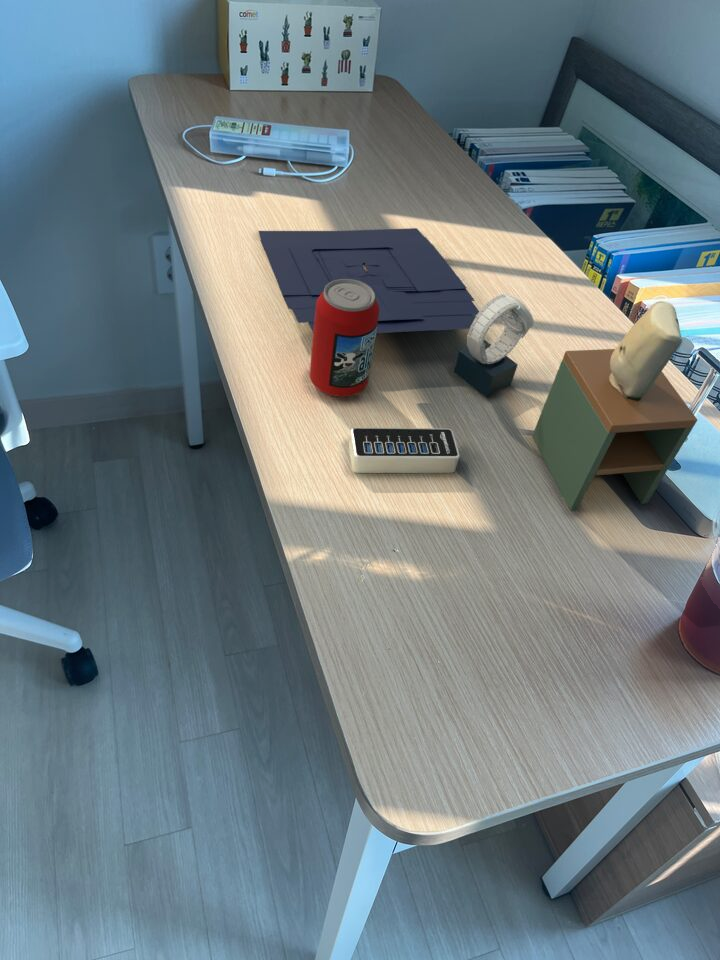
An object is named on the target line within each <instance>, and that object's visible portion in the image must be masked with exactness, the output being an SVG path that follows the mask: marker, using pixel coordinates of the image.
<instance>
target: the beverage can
mask: <svg viewBox="0 0 720 960" xmlns="http://www.w3.org/2000/svg"><path fill="white" fill-rule="evenodd" d="M378 318H379V306H378V303H377V301H376V299H375V293H374V291H373V290H372V288H371V287H369V286H368V285H367V284H365V283H363V282H360V281H357V280H352V279H339V280H334V281H332V282H330V283H328V284H327V285H326V287H325V289H324V291H323V292H322V294H321V295H320V296H319V297H318V299H317V302H316V310H315V320H314V330H313V332H312V341H311V353H310V354H311V355H310V367H309V378H310V382H311V383H312V384H313V386H314V387H315V388H316V389H318V390H319V391H321V392H322V393H324V394H326V395H330V396H334V397H350V396H354V395H357V394H359V393H361V392H362V391H364V390H365V388H366V387H367V385H368V383H369V376H370V372H371V365H372V359H373V355H374V348H375V343H376V336H377V333H376V331H377V324H378Z"/></svg>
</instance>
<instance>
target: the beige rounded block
mask: <svg viewBox="0 0 720 960" xmlns="http://www.w3.org/2000/svg"><path fill="white" fill-rule="evenodd" d="M682 342H683V337H682V333H681V329H680V323H679V318H678V315H677V311H676V307H674V305H673V304H672V303H670V302H668V301H664V300H663V301H661V300H659V301H657V302H654V303H653V304H652V305H651V306H650V307H649V308H648V309H647V310H646V311H645V313H643V314H642V316H640V317H639V318H638V319H637V321H635V323H634V324H633V325H632V326H631V327H630V328H629V330H628V331H627V333H625V335H624V337H623V338H622V340H621V341H620V342H619V344H618V345H617V346H616V347H615V348H614V349H615V350H614V351H613V353H612V356H611V360H610V368H611V371H612V373H611V374H610V376H609V381H610V382H611V384H612V386H614V387H615V388H616V389H618V390H619V391H620V393H621V394H622V395H623V396H624V397H625V398H627V399H631V400H635V401H639V400H641V398H642V397H643V396H644V395H645V394H646V392H647V391H648V390H649V389H650V387H651V386H652V385H653V383H654V382H655V380H656V379H657V377H658V376H659V374H660V373H661V371H662V372H663V370H664V369H665V367H666V366H667V364H668V363H669V362H670V360H671V358H672V357H673V356H674V355H675V354H676V352H677V350H678V349H679V347H680V346H681V345H682Z"/></svg>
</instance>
